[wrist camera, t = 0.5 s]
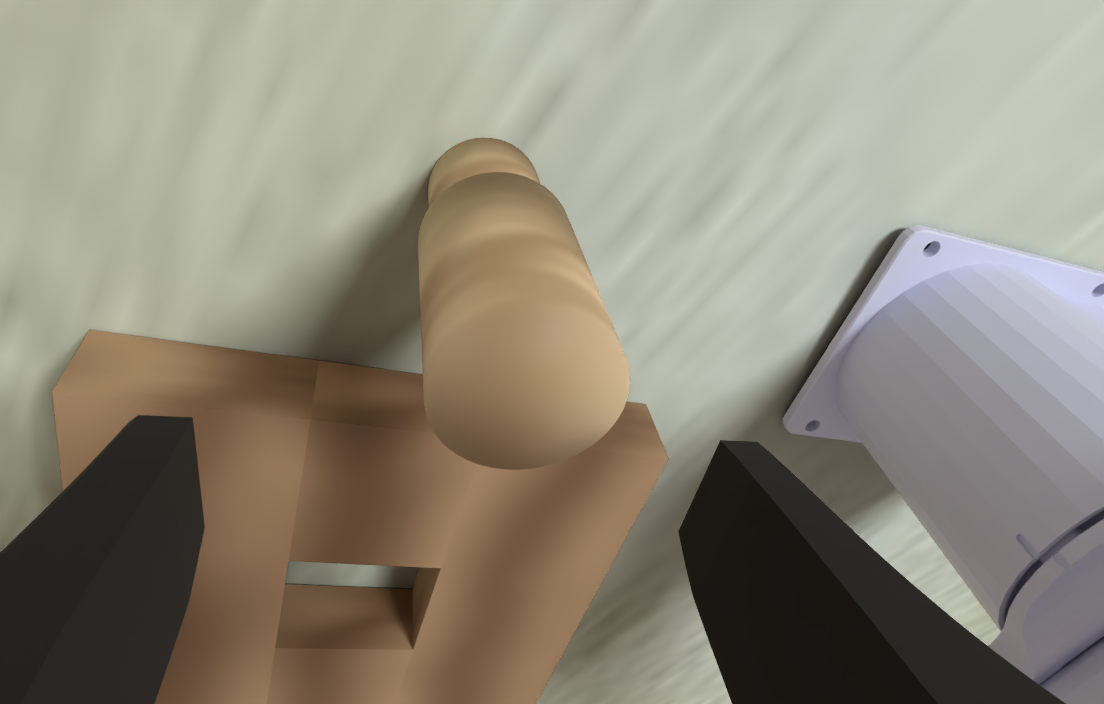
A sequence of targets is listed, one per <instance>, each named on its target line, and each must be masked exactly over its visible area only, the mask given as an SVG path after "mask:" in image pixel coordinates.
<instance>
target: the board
mask: <svg viewBox="0 0 1104 704" xmlns="http://www.w3.org/2000/svg"><path fill="white" fill-rule="evenodd" d="M52 396H53V405H54V415H55V424H56V433H57V443H58V452H59V461H60V471H61V480H62V490H63V491H64V490H65V489H66V488H67V487H68V486H69V485H70V484H71V483H72V482H73V481H74V480H75V479H76V478H77V476H78V475H79V474H80V473H81V472H82V471H83V470H84V469H85V468H86V467H87V466H88V465H89V464H90V463H91V462H92V461H93V460H94V459H95V458H96V457H97V456H98V455H99V453H100V452H101V451H102V450H103V449H104V448H105V447H106V446H107V445H108V444H109V443H110V442H111V441H112V440H113V438H114V437H115V436H116V435H117V434H118V433H119V432H120V431H121V430H122V429H123V428H124V427H125V426H126V425H127V423H128V422H129V421H131V420H132V419H134V418H135V417H136V416H138V415H151V416H174V417H193V424H194V433H195V442H196V451H197V460H198V469H199V479H200V488H201V497H202V506H203V515H204V525H205V529H204V534H203V539H202V544H201V548H200V553H199V558H198V563H197V568H196V572H195V577H194V581H193V586H192V590H191V595H190V599H189V604H188V607H187V610H186V613H185V616H184V619H183V622H182V625H181V628H180V631H179V634H178V637H177V640H176V643H175V646H174V648H173V651H172V654H171V657H170V660H169V663H168V666H167V669H166V672H165V675H164V678H163V681H162V684H161V687H160V690H159V692H158V695H157V698H156V701H155V704H536V702H537V700H538V699H539V697H540V695H541V693H542V691H543V689H544V688H545V686H546V684H547V682H548V680H549V678H550V677H551V675H552V673H553V671H554V669H555V667H556V665H557V664H558V662H559V660H560V658H561V656H562V654H563V653H564V651H565V649H566V647H567V645H568V643H569V642H570V640H571V638H572V636H573V634H574V632H575V630H576V629H577V627H578V625H579V623H580V621H581V619H582V618H583V616H584V614H585V612H586V610H587V608H588V607H589V605H590V603H591V601H592V599H593V597H594V595H595V594H596V592H597V590H598V588H599V586H600V584H601V583H602V581H603V579H604V577H605V575H606V573H607V572H608V570H609V568H610V566H611V564H612V562H613V560H614V559H615V557H616V555H617V553H618V551H619V549H620V548H621V546H622V544H623V542H624V540H625V538H626V537H627V535H628V533H629V531H630V529H631V527H632V525H633V524H634V522H635V520H636V518H637V516H638V514H639V513H640V511H641V509H642V507H643V505H644V503H645V501H646V500H647V498H648V496H649V494H650V492H651V490H652V489H653V487H654V485H655V483H656V481H657V479H658V478H659V476H660V474H661V472H662V470H663V468H664V466H665V465H666V463H667V461H668V459H669V458H668V456H667V454H666V451H665V449H664V446H663V444H662V442H661V439H660V437H659V434H658V432H657V430H656V427H655V425H654V422H653V420H652V418H651V415H650V413H649V410H648V408H647V406H646V404H639V403H631V402H626V404H625V407H624V409H623V411H622V413H621V415H620V416H619V418H618V420H617V421H616V422H615V424H614V425H613V426H612V428H611V429H610V430H609V431H608V432H607V433H606V434H605V435H604V436H603V437H602V438H601V439H599V440H598V441H597V442H596V443H595V444H593V445H592V446H590V447H589V448H587V449H586V450H584V451H583V452H581V453H579V454H577V455H575V456H573V457H571V458H569V459H566V460H564V461H561V462H558V463H555V464H552V465H548V466H544V467H540V468H533V469H522V470H507V469H497V468H490V467H486V466H482V465H479V464H476V463H473V462H471V461H468V460H466V459H464V458H462V457H460V456H458V455H457V454H455V453H454V452H453V451H451V450H450V449H448V448H447V447H446V446H445V445H444V444H443V443H442V442H441V441H440V440H439V439H438V437H437V436H436V435H435V433H434V432H433V430H432V428H431V426H430V425H429V422H428V419H427V416H426V412H425V407H424V388H423V374H416V373H408V372H401V371H393V370H386V369H378V368H371V367H363V366H356V365H349V364H341V363H334V362H326V361H319V360H311V359H304V358H296V357H289V356H281V355H274V354H267V353H259V352H252V351H244V350H237V349H229V348H222V347H214V346H207V345H200V344H192V343H185V342H177V341H170V340H162V339H155V338H147V337H140V336H133V335H125V334H118V333H110V332H103V331H95V330H89V331H88V333H87V335H86V336H85V338H84V340H83V341H82V343H81V345H80V346H79V348H78V350H77V351H76V353H75V354H74V356H73V358H72V359H71V361H70V363H69V364H68V366H67V368H66V369H65V371H64V373H63V374H62V376H61V378H60V379H59V381H58V383H57V384H56V386H55V387H54V389H53V391H52ZM289 561H303V562H323V563H343V564H363V565H383V566H403V567H419V569H418V573H417V576H416V579H415V582H414V585H413V589H394V588H369V587H344V586H319V585H294V584H285V581H286V574H287V568H288V562H289Z"/></svg>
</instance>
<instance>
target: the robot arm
mask: <svg viewBox="0 0 1104 704" xmlns="http://www.w3.org/2000/svg"><path fill="white" fill-rule="evenodd" d="M931 242H932V243H931ZM929 243H931V245H930V246H929V247H928V248H927V249H925V250H924V248H925V247H926V246H927V244H929ZM811 421H812V422H811ZM809 422H810V423H809ZM783 425H784V426H785V428H786V430H787V431H788V432H789V433H792V434H797V435H805V436H812V437H820V438H828V439H836V440H843V441H851V442H859V443H863V445H864V446H865V448H866V449H867V450H868V452H869V453H870V454H871V456H872V457H873V458H874V460H875V461H876V462H877V464H878V465H879V467H880V468H881V469H882V471H883V472H884V473H885V475H886V476H887V477H888V479H889V480H890V482H891V483H892V484H893V486H894V487H895V488H896V490H897V491H898V492H899V494H900V495H901V496H902V498H903V499H904V501H905V502H906V503H907V505H908V506H909V507H910V509H911V510H912V511H913V513H914V514H915V516H916V517H917V518H918V520H919V521H920V522H921V524H922V525H923V526H924V528H925V529H926V530H927V532H928V533H929V535H930V536H931V537H932V539H933V540H934V541H935V543H936V544H937V545H938V547H939V548H940V550H941V551H942V552H943V554H944V555H945V556H946V558H947V559H948V560H949V562H950V563H951V564H952V566H953V567H954V569H955V570H956V571H957V573H958V574H959V575H960V577H961V578H962V579H963V581H964V582H965V584H966V585H967V586H968V588H969V589H970V590H971V592H972V593H973V594H974V596H975V597H976V598H977V600H978V601H979V603H980V604H981V605H982V607H983V608H984V609H985V611H986V612H987V613H988V615H989V616H990V617H991V619H992V620H993V622H994V623H995V624H996V626H997V627H998V628H999V630H1000V631H1001V632H1000V634H999V635H998V636H997V638H996V639H995V640H994V641H993V642H992V643H991V644H990V645H988V646H987V645H986V644H984V643H983V642H982V641H980V640H979V639H978V638H976V637H975V636H974V635H973V634H971V633H970V632H969V631H968V630H966V629H965V628H964V627H963V626H961V625H960V624H959V623H958V622H956V621H955V620H954V619H953V618H952V617H950V616H949V615H948V614H947V613H946V612H944V611H943V610H942V609H941V608H940V607H939V606H937V605H936V604H935V603H934V602H933V601H932V600H930V599H929V598H928V597H927V596H926V595H924V594H923V593H922V592H921V591H920V590H919V589H917V588H916V587H915V586H914V585H913V584H911V583H910V582H909V581H908V580H907V579H906V578H905V577H903V576H902V575H901V574H900V573H899V572H898V571H897V570H896V569H894V568H893V567H892V566H891V565H890V564H889V563H888V562H887V561H885V560H884V559H883V558H882V557H881V556H880V555H879V554H878V553H877V552H876V551H874V550H873V549H872V548H871V547H870V546H869V545H868V544H867V543H866V542H865V541H864V540H863V539H861V538H860V537H859V536H858V535H857V534H856V533H855V532H854V531H853V530H852V529H851V528H850V527H849V526H847V525H846V524H845V523H844V522H843V521H842V520H841V519H840V518H839V517H838V516H837V515H836V514H835V513H834V512H833V511H832V510H831V509H829V508H828V507H827V506H826V505H825V504H824V503H823V502H822V501H821V500H820V499H819V498H818V497H817V496H816V495H815V494H814V493H813V492H812V491H810V490H809V489H808V488H807V487H806V486H805V485H804V484H803V483H802V482H801V481H800V480H799V479H798V478H797V477H796V476H795V475H794V474H792V473H791V472H790V471H789V470H788V469H787V468H786V467H785V466H784V465H783V464H782V463H781V462H779V461H778V460H777V459H776V458H775V457H774V456H773V455H772V454H771V453H769V452H768V451H767V450H766V449H765V448H764V447H762V446H761V445H760V444H759V443H758V442H745V441H722V440H720V443H719V445H718V447H717V449H716V451H715V453H714V456H713V458H712V460H711V462H710V464H709V466H708V469H707V471H706V473H705V475H704V477H703V479H702V482H701V484H700V486H699V488H698V490H697V492H696V495H695V497H694V499H693V501H692V503H691V505H690V508H689V510H688V512H687V514H686V516H685V519H684V521H683V523H682V525H681V527H680V529H679V536H680V541H681V546H682V550H683V555H684V560H685V565H686V569H687V573H688V577H689V581H690V586H691V590H692V594H693V597H694V600H695V603H696V606H697V609H698V612H699V614H700V617H701V620H702V623H703V626H704V628H705V631H706V634H707V637H708V639H709V642H710V645H711V648H712V650H713V653H714V656H715V658H716V661H717V664H718V667H719V669H720V672H721V675H722V677H723V680H724V683H725V685H726V688H727V691H728V693H729V696H730V699H731V702H732V704H1104V272H1102V271H1098V270H1094V269H1090V268H1086V267H1083V266H1079V265H1075V264H1071V263H1067V262H1063V261H1059V260H1055V259H1051V258H1047V257H1043V256H1040V255H1036V254H1032V253H1028V252H1024V251H1020V250H1016V249H1012V248H1008V247H1004V246H1000V245H996V244H993V243H989V242H985V241H981V240H977V239H973V238H969V237H965V236H961V235H957V234H953V233H950V232H946V231H942V230H938V229H934V228H930V227H926V226H922V225H914V226H911V227H909V228H907V229H906V230H904V231H903V232H902V233H901V234H900V235H899V236H898V238H897V239H896V241H895V243H894V244H893V246H892V247H891V249H890V250H889V252H888V254H887V255H886V257H885V258H884V260H883V261H882V263H881V265H880V266H879V268H878V269H877V271H876V272H875V274H874V276H873V277H872V279H871V280H870V282H869V283H868V285H867V287H866V288H865V290H864V291H863V293H862V294H861V296H860V298H859V299H858V301H857V302H856V304H855V305H854V307H853V309H852V310H851V312H850V313H849V315H848V316H847V318H846V320H845V321H844V323H843V324H842V326H841V327H840V329H839V331H838V332H837V334H836V335H835V337H834V338H833V340H832V342H831V343H830V345H829V346H828V348H827V349H826V351H825V353H824V354H823V356H822V357H821V359H820V360H819V362H818V364H817V365H816V367H815V368H814V370H813V371H812V373H811V374H810V376H809V378H808V379H807V381H806V382H805V384H804V385H803V387H802V389H801V390H800V392H799V393H798V395H797V396H796V398H795V400H794V401H793V403H792V404H791V406H790V407H789V409H788V411H787V412H786V414H785V415H784V418H783ZM204 529H205V525H204V515H203V506H202V497H201V488H200V479H199V469H198V460H197V451H196V442H195V433H194V424H193V417H174V416H151V415H138V416H136V417H135V418H134V419H132V420H131V421H129V422H128V423H127V425H126V426H125V427H124V428H123V429H122V430H121V431H120V432H119V433H118V434H117V435H116V436H115V437H114V438H113V440H112V441H111V442H110V443H109V444H108V445H107V446H106V447H105V448H104V449H103V450H102V451H101V452H100V453H99V455H98V456H97V457H96V458H95V459H94V460H93V461H92V462H91V463H90V464H89V465H88V466H87V467H86V468H85V469H84V470H83V471H82V472H81V473H80V474H79V475H78V476H77V478H76V479H75V480H74V481H73V482H72V483H71V484H70V485H69V486H68V487H67V488H66V489H65V490H64V491H63V492H62V493H61V494H60V495H59V496H58V497H57V498H56V499H55V500H54V501H53V502H52V503H51V504H50V505H49V506H48V507H47V508H46V509H45V510H44V511H43V512H42V513H41V514H40V515H39V516H38V517H37V518H36V519H34V520H33V521H32V522H31V523H30V524H29V525H28V526H27V527H26V528H25V529H24V530H23V531H22V532H21V533H20V534H19V535H18V536H17V537H16V538H15V539H14V540H13V541H12V542H11V543H10V544H9V545H8V546H7V547H6V548H5V549H4V550H3V551H1V552H0V704H155V701H156V698H157V695H158V692H159V690H160V687H161V684H162V681H163V678H164V675H165V672H166V669H167V666H168V663H169V660H170V657H171V654H172V651H173V648H174V646H175V643H176V640H177V637H178V634H179V631H180V628H181V625H182V622H183V619H184V616H185V613H186V610H187V607H188V604H189V599H190V595H191V590H192V586H193V581H194V577H195V572H196V568H197V563H198V558H199V553H200V548H201V544H202V539H203V534H204Z"/></svg>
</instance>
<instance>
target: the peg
mask: <svg viewBox="0 0 1104 704" xmlns="http://www.w3.org/2000/svg"><path fill="white" fill-rule="evenodd" d="M428 200H429V208H428V210H427V211H426V213H425V216H424V218H423V220H422V223H421V226H420V229H419V235H418V262H419V287H420V313H421V338H422V363H423V388H424V407H425V412H426V416H427V419H428V422H429V425H430V426H431V428H432V430H433V432H434V433H435V435H436V436H437V437H438V439H439V440H440V441H441V442H442V443H443V444H444V445H445V446H446V447H447V448H448V449H450V450H451V451H453V452H454V453H455V454H457V455H458V456H460V457H462V458H464V459H466V460H468V461H471V462H473V463H476V464H479V465H482V466H486V467H490V468H497V469H507V470H522V469H533V468H540V467H544V466H548V465H552V464H555V463H558V462H561V461H564V460H566V459H569V458H571V457H573V456H575V455H577V454H579V453H581V452H583V451H584V450H586V449H587V448H589V447H590V446H592V445H593V444H595V443H596V442H597V441H598V440H599V439H601V438H602V437H603V436H604V435H605V434H606V433H607V432H608V431H609V430H610V429H611V428H612V426H613V425H614V424H615V422H616V421H617V420H618V418H619V416H620V415H621V413H622V411H623V409H624V407H625V404H626V401H627V399H628V394H629V390H630V370H629V366H628V362H627V359H626V356H625V354H624V351H623V349H622V347H621V344H620V342H619V339H618V337H617V335H616V332H615V330H614V327H613V325H612V323H611V320H610V318H609V315H608V313H607V310H606V308H605V306H604V303H603V301H602V298H601V296H600V294H599V291H598V289H597V286H596V284H595V282H594V279H593V277H592V274H591V272H590V270H589V267H588V265H587V262H586V260H585V258H584V255H583V253H582V250H581V248H580V245H579V243H578V241H577V238H576V236H575V233H574V231H573V229H572V226H571V224H570V221H569V219H568V217H567V214H566V212H565V210H564V208H563V206H562V205H561V203H560V202H559V200H558V199H557V198H556V197H555V196H554V195H553V194H552V193H551V192H550V191H549V190H548V189H547V188H545V187H544V186H543V185H541V184H540V181H539V179H538V176H537V173H536V171H535V169H534V167H533V165H532V163H531V162H530V160H529V159H528V158H527V156H526V155H525V154H524V153H523V152H522V151H520V150H519V149H518V148H516V147H515V146H513V145H512V144H509V143H507V142H505V141H502V140H499V139H493V138H475V139H471V140H467V141H464V142H461V143H459V144H457V145H455V146H454V147H452V148H451V149H449V150H448V151H447V152H446V153H444V154H443V155H442V157H441V158H440V159H439V160H438V161H437V163H436V165H435V166H434V168H433V170H432V172H431V175H430V179H429V184H428Z"/></svg>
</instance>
